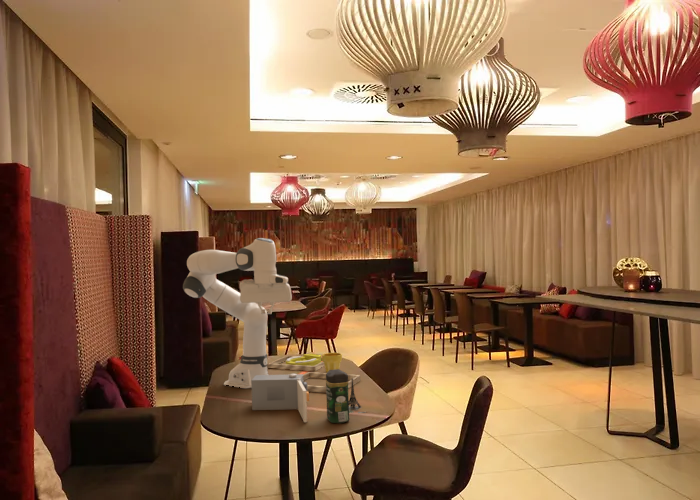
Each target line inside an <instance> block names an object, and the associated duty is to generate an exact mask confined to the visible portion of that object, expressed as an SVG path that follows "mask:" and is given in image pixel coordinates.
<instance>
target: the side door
mask: <svg viewBox="0 0 700 500" xmlns="http://www.w3.org/2000/svg"><path fill="white" fill-rule="evenodd" d="M307 402H310V393H309V392H308V391H307V392H306V389H305V387H304V386H303V384H302V382H301V380H300V378H297V403H298V409H297V410H298V412H299V414H300V416H301V419H302V420H303V421H302V422H303V423H308V403H307Z"/></svg>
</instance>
